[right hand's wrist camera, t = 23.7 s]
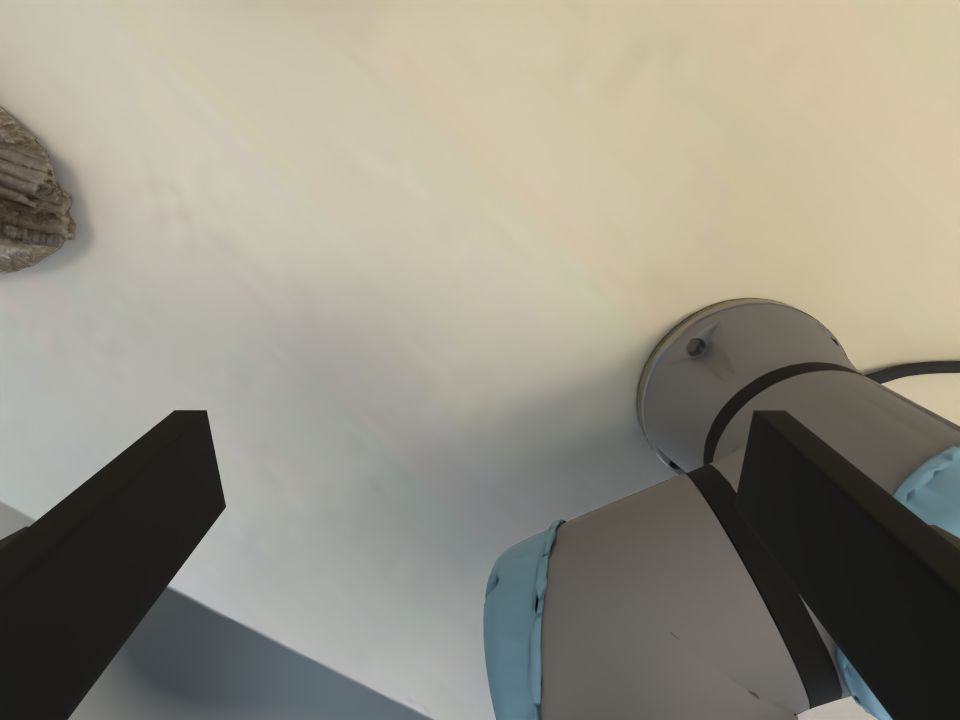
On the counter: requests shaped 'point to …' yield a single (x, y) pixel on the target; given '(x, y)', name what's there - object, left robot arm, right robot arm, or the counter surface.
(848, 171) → the counter surface
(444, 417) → the counter surface
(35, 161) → the fossil
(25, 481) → the counter surface
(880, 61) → the counter surface
